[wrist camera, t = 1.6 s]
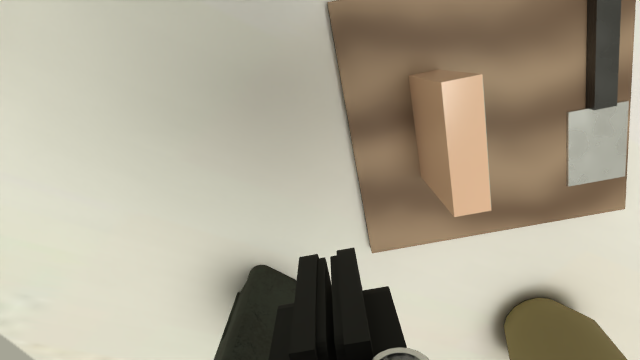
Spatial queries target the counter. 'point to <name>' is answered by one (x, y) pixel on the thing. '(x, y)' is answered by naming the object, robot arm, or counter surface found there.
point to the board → (500, 108)
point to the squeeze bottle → (555, 334)
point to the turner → (599, 103)
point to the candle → (255, 315)
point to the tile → (452, 138)
